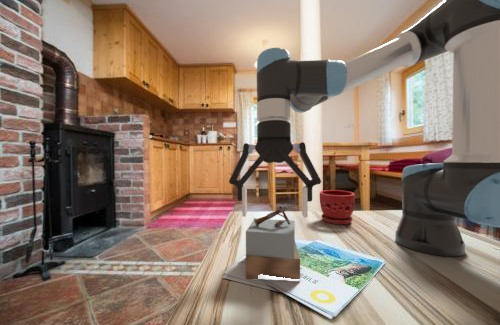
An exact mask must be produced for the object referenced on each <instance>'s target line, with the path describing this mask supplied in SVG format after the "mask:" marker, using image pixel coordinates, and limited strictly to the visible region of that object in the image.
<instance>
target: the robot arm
mask: <svg viewBox="0 0 500 325" xmlns="http://www.w3.org/2000/svg"><path fill="white" fill-rule="evenodd" d="M447 52H449V53H452V54H453V55H452V56H453V57H452V58H453V59H452V60H453V63H452V64H453V65H452V70H453V71H452V131H451V132H452V140H451V141H452V142H451V143H452V145H451V147H452V148H451V155H449V156H447V158H445V159H444V160H443V162H438V163H437V162H435V163H424V164H423V163H422V164H421V163H420V164H413V165H407V166H405V167H403V169H402V175H401V182H402V183H401V190H402V191H401V194H402V195H401V197H402V198H401V203H402V205H401V206H402V209H401V210H402V216H401V218H400V221H399V223H398V226H397V229H396V230H395V241H396V243H398V244H399V245H400V246H403V247H405V248H406V249H407V248H408V249H409V250H413V251H417V252H420V253H425V254H428V255H433V256H438V257H439V256H440V257H462V256H464V255H465V254H466V244H465V241H464V239H463V236H462V234H461V232H460V230H459V227H458V224H457V221H456V220H457V219H456V218H459V219H463V220H466V221H469V222H472V223H475V224H477V225H484V226H485V225H486V226H491V227H494V228H500V0H442V1H441V2H440V3H438V5H437V6H435V7H434V8H433V9H432V10H431V11H430V12H428V13H426V15H425V16H424V17H422V18H421V19H420V20H419V21H417V22H416V23H415V24H414V25H413V26H411V27H409V28H408V29H406V30H404V31H402V32H400V33H398V34H397V35H396V36H395V38H394V39H393V40H391V41H389V42H387V43H384V44H382V45H380V46H378V47H376V48H373V49H371V50H370V51H367V52H365V53H363V54H361V55H359V56H356V57H354V58H352V59H349V60H348V61H345V62H344V61H343V60H335V59H334V60H331V59H326V60H325V59H322V60H320V59H319V60H295V59H294V60H293V59H292V58H291V54H290V52H289V51H288V50H287V49H285V48H282V49H281V47H270V48H266V49H264V50H263V51H261V53H260V54H259V55H258V57H257V60H256V61H257V62H256V120H257V122H258V123H257V124H256V128H257V129H256V131H257V132H256V134H257V135H256V137H257V138H256V144H248V143H247V142H245V143H244V144H243V147H242V154H241V156H240V158H239V159H238V161H237V164H236V165H235V168H234V170H233V172H232V174H231V176H230V177H229V180H228V183H229V184H230V185H234V186H235V187H236V191H237V194H236V196H237V198H236V199H237V201H238V202H241V206H242V207H241V209H242V210H241V213H242V214H241V215H242V217H246V216H247V214H248V208H247V207H248V199H247V198H248V196H247V195H248V192H247V191H248V188H247V187H248V186H247V185H244V184H245V183H247V181H248V180H249V178H250V177H251V176H252V175H253V174H254V172H255V171H256V170H257V169H258V168H259V166H260V165H261V164H262V163H263V162H264V163H266V164H272V163H277V164H282V163H284V162H285V163H286V164H287V165H288V166H289V168H290V169H291V170H292V171H293V172H294V173H295V174H296V175H297V177H298V178H299V179H300V181H301V182H302V183H304V185H303V186H301V215H302V217H303V218H308V216H309V215H308V212H309V211H308V208H309V206H308V202H312V201H313V187H315V186H316V185H320V184H321V183H322V180H321V178H320V176H319V174H318V172H317V170H316V168H315V166H314V164H313V162H312V161H311V159H310V157H309V155H308V153H307V147H306V143H305V142H300V143H295V144H294V143H292V141H291V139H292V138H291V137H292V136H291V132H292V131H291V127H292V126H291V123H290V122H289V121H290V120H291V109H292V110H293V111H294V112H296V113H306V112H308V111H310V110H311V109H312V108H314V107H316V106H317V105H320V104H322V103H325V102H327V100H331V99H332V98H334V97H337V96H340V95H341V94H344V93H346V92H348V91H350V90H353V89H355V88H357V87H359V86H361V85H365V83H368V82H370V81H372V80H375V79H377V78H379V77H381V76H383V75H386V74H387V73H390V72H392V71H394V70H396V69H399V68H401V67H404V68H409V67H411V66H414V65H416V64H419V63H421V62H423V61H426V60H429V59H430V58H433V57H437V56H439V55H442V54H444V53H447ZM254 150H255V151H256V153H257V154H258V155H259V156H258V157H257V158H256V160H255V161H254V162H253V164H252V165H250V167H249V168H248V169H247V171H246V172H245V173H244V175H242V177H241V178H240V179H238V178H239V176H240V174H241V172H242V170H243V167H244V166H245V163H246V161H247V159H248V157H249V155H250V154H252V153H253V152H254ZM293 150H294V151H295V153H297V154H299V156H300V159H301V161H302V163H303V164H304V166H305V168H306V170H307V172H308V174H309V176H310V178H311V179H310V178H308V176H307V175H306V174H305V173H304V172H303V171H302V170H301V169H300V167H299V166H298V165H297V164H296V162H294V160H293V159H292V157H291V156H290V154H291V153H292V151H293Z"/></svg>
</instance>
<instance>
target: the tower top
mask: <svg viewBox="0 0 500 325" xmlns="http://www.w3.org/2000/svg"><path fill="white" fill-rule="evenodd" d="M280 220H281V221H282V220H283V219H272V218H270V219H267V220H265V221H264V222H262V223H261V224H259V225H258V226H259V227H257V226H256V224H255V222H254V220H252V222H251V223H250V225H249V226H248V227H247V229H246V230H245V256H246V255H253V256H264V257H276V258H287V259H294V253H295V243H296V238H295V235H296V234H295V233H296V232H295V229H296V228H295V225H296V224H295V222H296V221H295V220H290V219H289V222H290V224H289V225H288V223H287V222H286V220H285V219H284V220H285V221H284V223H282V225H280V226H275V225H274V224H276V222H278V221H280Z"/></svg>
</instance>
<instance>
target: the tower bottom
mask: <svg viewBox="0 0 500 325" xmlns="http://www.w3.org/2000/svg"><path fill="white" fill-rule="evenodd" d="M260 274H263V275H269V276H276V277H283V278H284V277H285V278H291V279H300V280H301V258H300V254H299V251H298V248H297V244H296V242H295V253H294V259H287V258H276V257H264V256H253V255H246V254H245V280H250V279H258V275H260Z"/></svg>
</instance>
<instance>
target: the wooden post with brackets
mask: <svg viewBox="0 0 500 325" xmlns="http://www.w3.org/2000/svg"><path fill="white" fill-rule="evenodd" d="M278 207H279V208H278V209H277V210H275V211H274V210H273V211H271V212H269V213H268V214H266V215H264V216H262V217H258V218H256V217H254V218H253V221H254V222H255V224H256V226H257V227H259V226H258V225H259V224H261V223H262V222H264V221H265V220H267V219H273V218H274V217H276V216H277V215H278V216H281V217H283V218H284V219H279V220H280V221H278V222H276V224H274V225H275V226H280V225H282V223H284V221H285V220H286V222H287V223H288V225H289V224H290V222H289V220H290V219H289V218H288V216H287V214H286V213H285V212H286V210H288V206H282V205H280V206H278ZM281 220H282V221H281Z"/></svg>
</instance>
